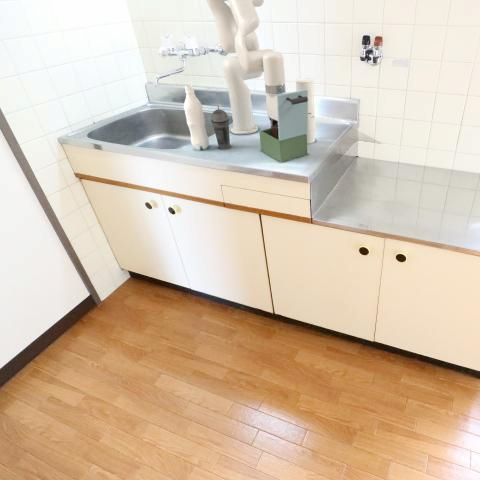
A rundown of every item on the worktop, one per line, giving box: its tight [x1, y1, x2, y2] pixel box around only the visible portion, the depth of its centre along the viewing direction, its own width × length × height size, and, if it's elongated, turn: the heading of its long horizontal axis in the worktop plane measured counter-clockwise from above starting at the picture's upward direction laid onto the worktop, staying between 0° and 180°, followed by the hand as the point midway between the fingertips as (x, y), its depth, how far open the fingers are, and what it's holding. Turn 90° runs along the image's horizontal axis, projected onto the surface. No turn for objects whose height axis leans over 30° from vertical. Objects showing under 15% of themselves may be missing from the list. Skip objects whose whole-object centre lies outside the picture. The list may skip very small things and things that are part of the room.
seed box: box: [258, 127, 309, 163], centre depth 150 cm, size 16×13×8 cm
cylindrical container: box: [295, 77, 316, 145], centre depth 156 cm, size 7×7×25 cm
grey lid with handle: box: [277, 90, 308, 141], centre depth 136 cm, size 16×13×6 cm
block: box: [270, 124, 279, 139], centre depth 150 cm, size 4×4×4 cm
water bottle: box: [183, 84, 210, 151], centre depth 151 cm, size 7×7×25 cm
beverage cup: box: [210, 98, 231, 150], centre depth 153 cm, size 7×7×20 cm
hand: (279, 135), depth 151 cm, fingers closed on block, 4 cm apart
